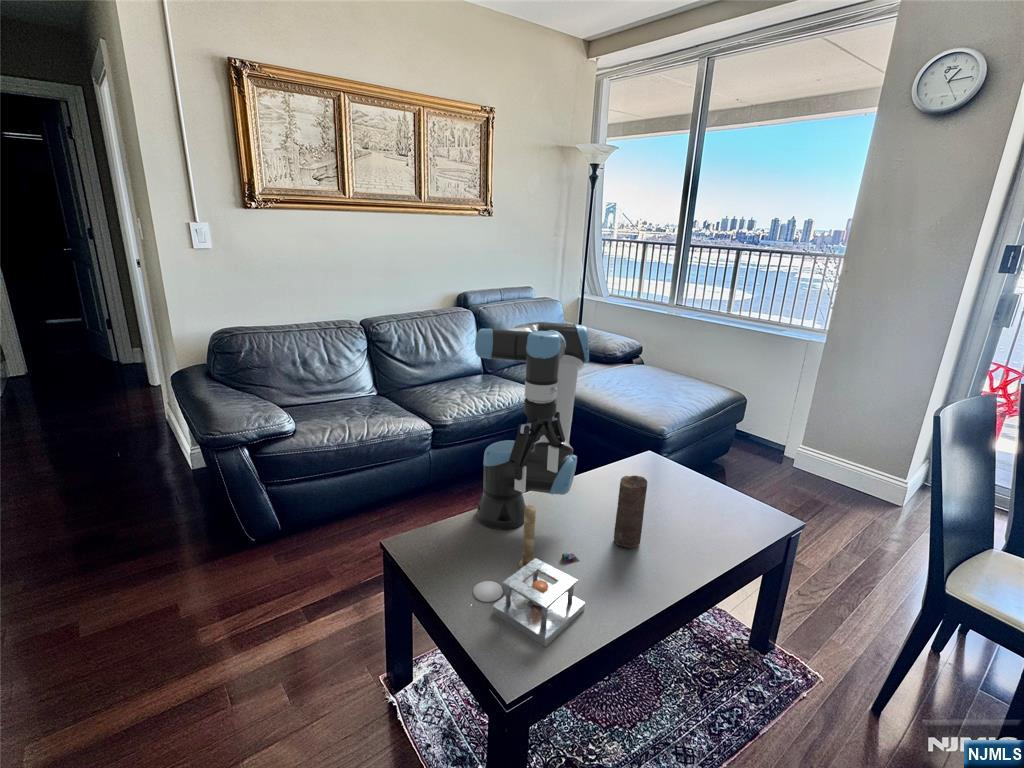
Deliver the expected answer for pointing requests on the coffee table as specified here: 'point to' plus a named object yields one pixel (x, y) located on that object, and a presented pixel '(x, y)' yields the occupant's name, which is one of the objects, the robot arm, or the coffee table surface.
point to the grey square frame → (539, 602)
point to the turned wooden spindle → (528, 535)
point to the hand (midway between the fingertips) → (536, 480)
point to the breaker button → (540, 586)
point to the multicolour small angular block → (569, 558)
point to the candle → (630, 511)
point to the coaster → (488, 591)
